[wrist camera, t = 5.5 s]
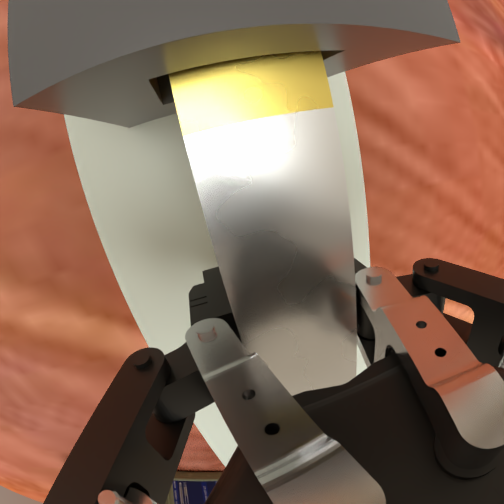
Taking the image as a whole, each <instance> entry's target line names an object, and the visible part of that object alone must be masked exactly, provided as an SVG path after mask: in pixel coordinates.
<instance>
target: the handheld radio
mask: <svg viewBox="0 0 504 504" xmlns="http://www.w3.org/2000/svg"><path fill="white" fill-rule="evenodd" d="M222 473H223V472H186V471H176V474H175V477H174V480H173V483H172V485H171V488H170V491H169V494H168V497H167V500H166V503H165V504H204V503H205V501H206V500H207V498H208V496H209V495H210V493H211V491H212V490H213V488H214V486H215V485H216V483H217V481H218V480H219V478H220V476H221V474H222Z"/></svg>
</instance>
